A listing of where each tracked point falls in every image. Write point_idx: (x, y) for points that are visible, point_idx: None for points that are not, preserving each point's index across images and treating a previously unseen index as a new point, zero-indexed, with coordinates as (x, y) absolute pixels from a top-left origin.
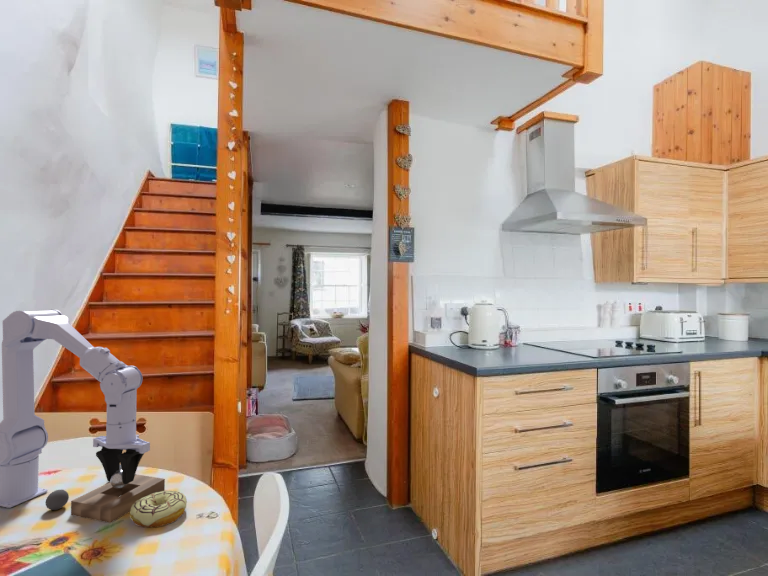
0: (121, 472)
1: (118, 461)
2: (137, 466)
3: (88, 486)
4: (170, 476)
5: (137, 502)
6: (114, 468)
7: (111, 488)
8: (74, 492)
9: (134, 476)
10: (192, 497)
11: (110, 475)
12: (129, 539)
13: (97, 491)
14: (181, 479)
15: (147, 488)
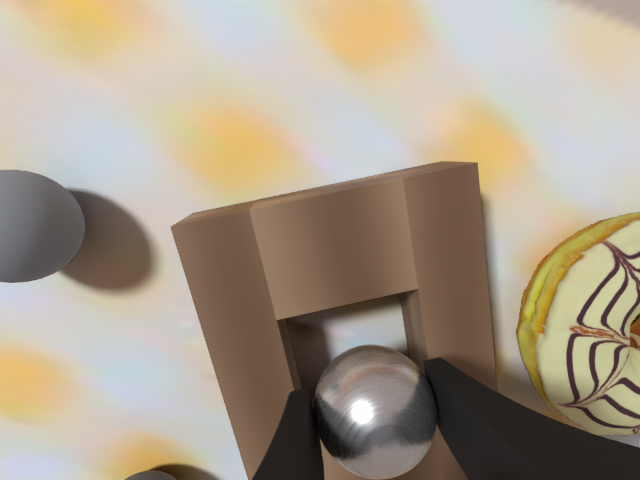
0: (416, 457)
1: (308, 478)
2: (510, 401)
3: (6, 326)
4: (297, 7)
5: (591, 405)
6: (313, 468)
7: (292, 378)
8: (29, 389)
9: (454, 366)
10: (625, 133)
11: (322, 464)
12: (624, 436)
13: (271, 436)
14: (401, 5)
15: (487, 288)
